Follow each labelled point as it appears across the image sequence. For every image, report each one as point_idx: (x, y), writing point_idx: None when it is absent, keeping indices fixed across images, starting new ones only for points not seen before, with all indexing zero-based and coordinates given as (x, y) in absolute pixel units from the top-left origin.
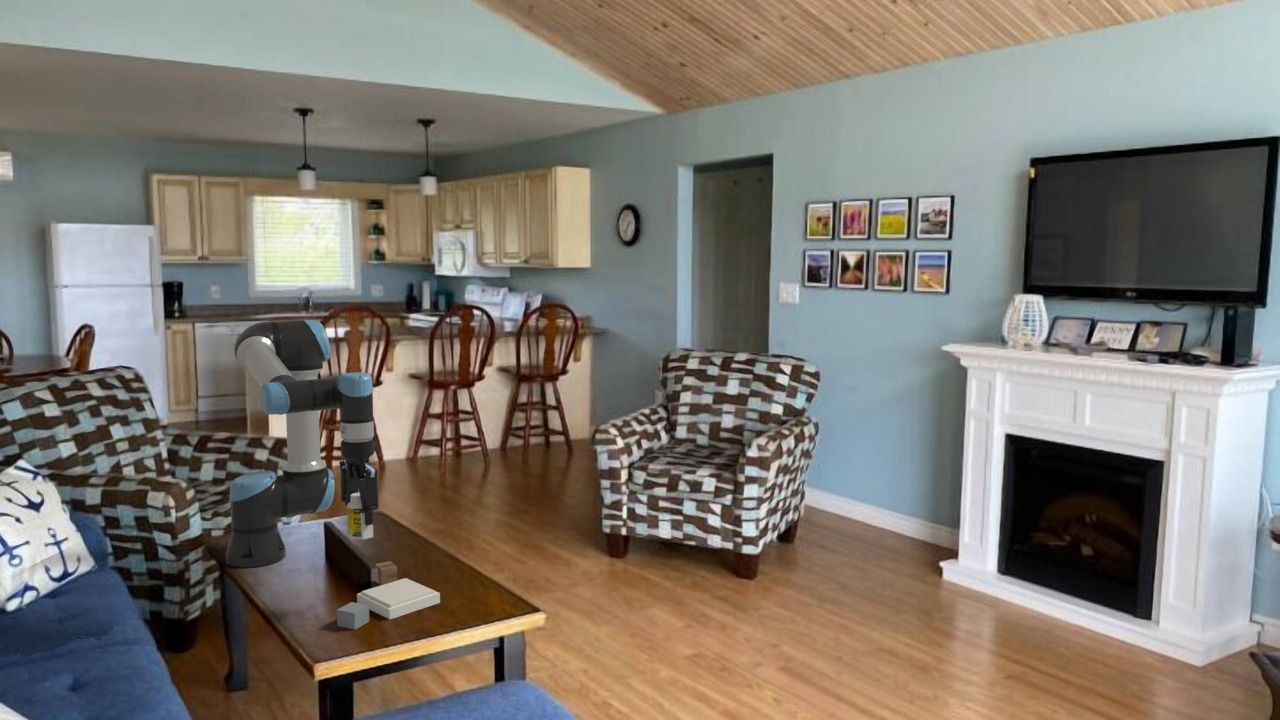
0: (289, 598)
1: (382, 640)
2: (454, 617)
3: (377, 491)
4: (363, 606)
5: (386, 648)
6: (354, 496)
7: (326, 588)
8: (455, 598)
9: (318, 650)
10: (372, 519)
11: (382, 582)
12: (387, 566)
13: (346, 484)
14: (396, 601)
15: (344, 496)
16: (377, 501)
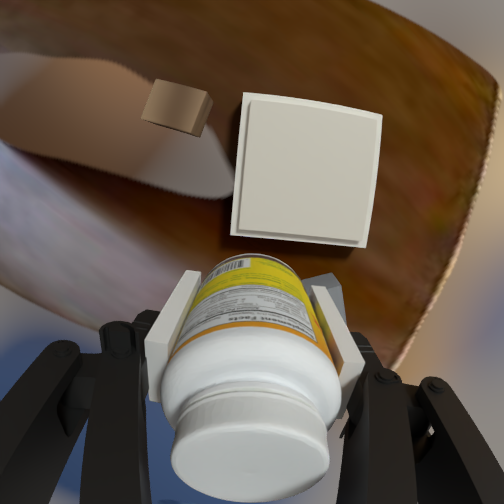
0: (109, 297)
1: (406, 304)
2: (441, 161)
3: (497, 462)
4: (335, 296)
5: (426, 316)
6: (273, 500)
7: (108, 220)
8: (378, 83)
9: None
10: (372, 351)
11: (197, 134)
12: (182, 107)
13: (44, 478)
14: (357, 219)
15: (81, 420)
16: (464, 414)
